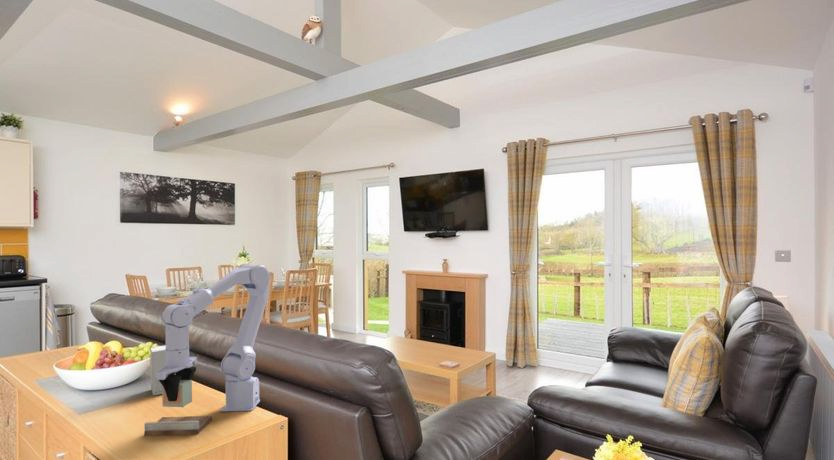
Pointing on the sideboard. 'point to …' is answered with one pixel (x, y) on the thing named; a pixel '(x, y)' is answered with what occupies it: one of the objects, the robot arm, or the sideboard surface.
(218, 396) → the sideboard surface
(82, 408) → the sideboard surface
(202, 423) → the shelf board
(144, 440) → the sideboard surface
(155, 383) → the skincare box
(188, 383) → the product carton
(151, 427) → the rail
